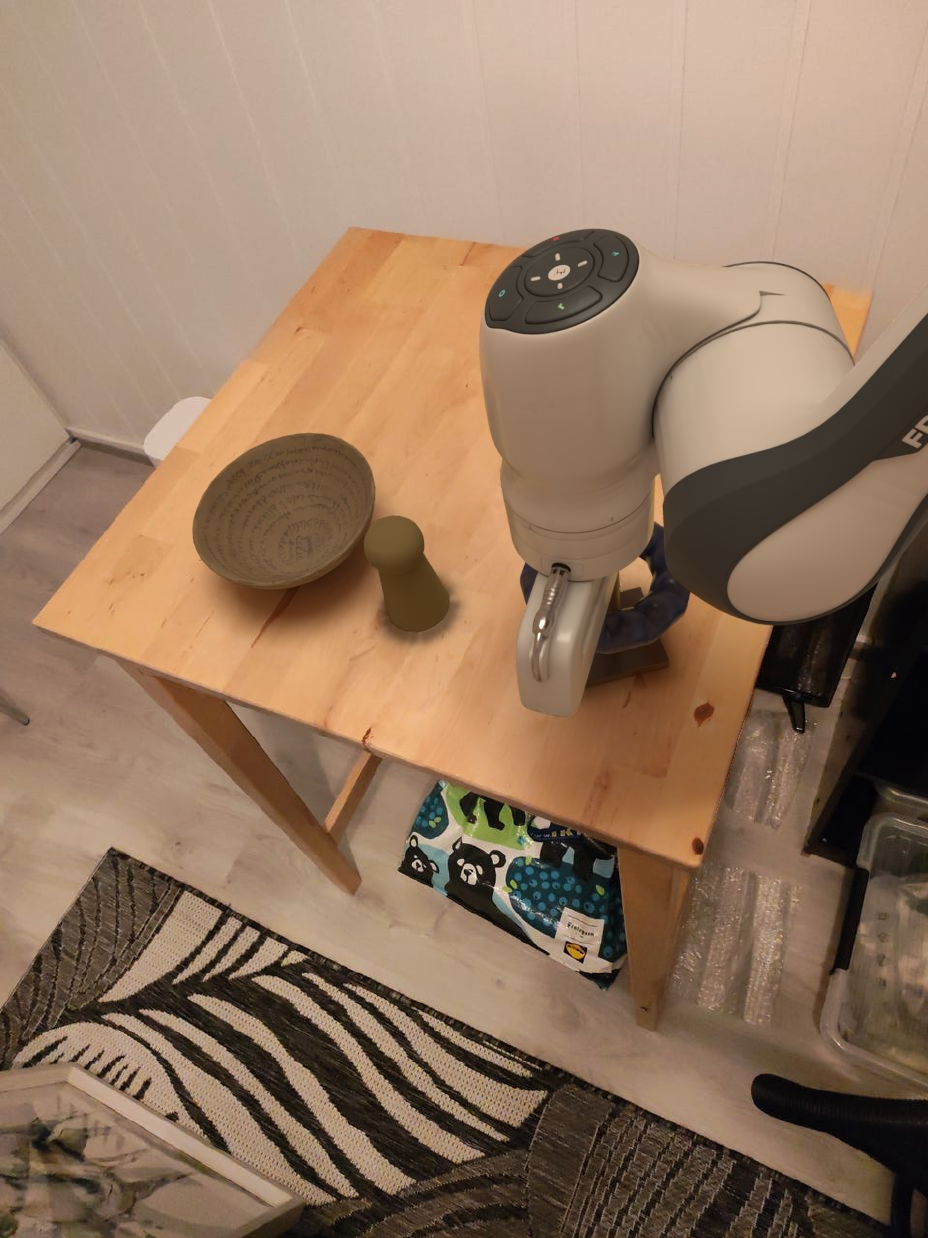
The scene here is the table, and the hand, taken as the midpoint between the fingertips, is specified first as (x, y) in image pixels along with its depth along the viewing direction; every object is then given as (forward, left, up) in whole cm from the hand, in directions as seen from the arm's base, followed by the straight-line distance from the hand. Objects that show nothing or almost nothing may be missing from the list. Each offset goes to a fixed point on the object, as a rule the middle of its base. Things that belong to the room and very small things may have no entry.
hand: (590, 628), depth 60 cm
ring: (-2, -4, 0) cm, 5 cm away
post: (-3, -5, -10) cm, 11 cm away
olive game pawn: (+13, -14, -10) cm, 22 cm away
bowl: (+23, -24, -10) cm, 35 cm away
